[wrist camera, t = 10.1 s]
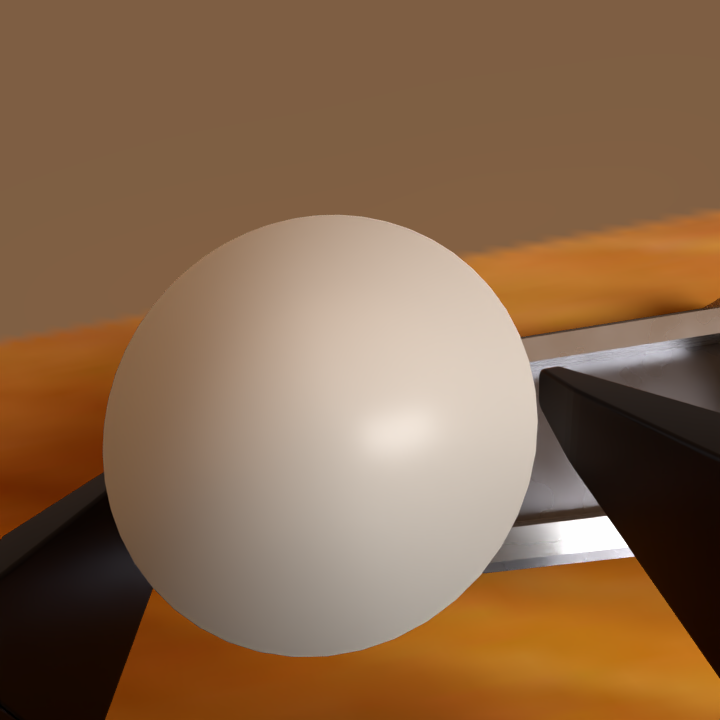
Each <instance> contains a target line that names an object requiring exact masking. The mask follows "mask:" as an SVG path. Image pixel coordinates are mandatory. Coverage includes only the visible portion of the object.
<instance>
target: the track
mask: <svg viewBox="0 0 720 720" xmlns="http://www.w3.org/2000/svg"><path fill="white" fill-rule="evenodd" d="M521 340H522V343H523V346H524V348H525V351H526V354H527V357H528V359H529V363H530V367H531V372H532V376H533V381H534V386H535V391H536V404H537V417H538V424H537V440H536V453H535V458H534V463H533V468H532V473H531V477H530V482H529V486H528V489H527V491H526V494H525V497H524V500H523V503H522V505H521V508H520V511H519V514H518V516H517V518H516V520H515V522H514V524H513V526H512V528H511V529H510V531H509V533H508V535H507V537H506V539H505V541H504V543H503V544H502V546H501V548H500V549H499V550H498V552H497V553H496V555H495V556H494V557H493V559H492V560H491V561H490V563H489V564H488V565H487V567H486V568H485V570H484V571H483V572H482V573H490V572H499V571H508V570H517V569H526V568H535V567H544V566H553V565H561V564H570V563H579V562H588V561H597V560H606V559H615V558H624V557H633V556H634V554H633V553H632V551H631V550H630V549H629V547H628V546H627V544H626V543H625V541H624V540H623V538H622V537H621V536H620V534H619V533H618V531H617V530H616V528H615V527H614V525H613V524H612V523H611V521H610V520H609V518H608V517H607V515H606V514H605V513H604V511H603V510H602V508H601V507H600V505H599V504H598V502H597V501H596V500H595V498H594V497H593V495H592V494H591V492H590V491H589V489H588V488H587V487H586V485H585V484H584V482H583V481H582V479H581V478H580V477H579V475H578V474H577V472H576V471H575V469H574V468H573V466H572V465H571V463H570V462H569V460H568V458H567V457H566V455H565V453H564V451H563V449H562V447H561V446H560V444H559V442H558V440H557V438H556V436H555V434H554V432H553V431H552V429H551V427H550V425H549V423H548V421H547V419H546V417H545V416H544V414H543V412H542V410H541V408H540V404H539V374H540V371H541V370H542V369H545V368H551V367H557V366H560V367H563V368H567V369H570V370H574V371H577V372H581V373H584V374H588V375H591V376H595V377H598V378H602V379H605V380H609V381H612V382H616V383H619V384H622V385H626V386H629V387H633V388H636V389H640V390H643V391H647V392H650V393H654V394H657V395H661V396H664V397H668V398H671V399H675V400H678V401H682V402H685V403H689V404H692V405H696V406H699V407H702V408H706V409H709V410H713V411H716V412H720V298H719V299H717V300H716V301H714V302H712V303H711V304H709V305H707V306H706V307H704V308H702V309H696V310H690V311H683V312H677V313H671V314H664V315H658V316H652V317H646V318H639V319H633V320H627V321H620V322H614V323H608V324H601V325H595V326H589V327H582V328H576V329H570V330H564V331H557V332H551V333H545V334H538V335H532V336H526V337H521Z"/></svg>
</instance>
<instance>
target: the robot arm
mask: <svg viewBox="0 0 720 720" xmlns="http://www.w3.org/2000/svg"><path fill="white" fill-rule="evenodd" d="M539 404H540V408H541V410H542V412H543V414H544V416H545V417H546V419H547V421H548V423H549V425H550V427H551V429H552V431H553V432H554V434H555V436H556V438H557V440H558V442H559V444H560V446H561V447H562V449H563V451H564V453H565V455H566V457H567V458H568V460H569V462H570V463H571V465H572V466H573V468H574V469H575V471H576V472H577V474H578V475H579V477H580V478H581V479H582V481H583V482H584V484H585V485H586V487H587V488H588V489H589V491H590V492H591V494H592V495H593V497H594V498H595V500H596V501H597V502H598V504H599V505H600V507H601V508H602V510H603V511H604V513H605V514H606V515H607V517H608V518H609V520H610V521H611V523H612V524H613V525H614V527H615V528H616V530H617V531H618V533H619V534H620V536H621V537H622V538H623V540H624V541H625V543H626V544H627V546H628V547H629V549H630V550H631V551H632V553H633V554H634V556H635V557H636V559H637V560H638V561H639V563H640V564H641V566H642V567H643V569H644V570H645V572H646V573H647V574H648V576H649V577H650V579H651V580H652V582H653V583H654V585H655V586H656V587H657V589H658V590H659V592H660V593H661V595H662V596H663V597H664V599H665V600H666V602H667V603H668V605H669V606H670V608H671V609H672V610H673V612H674V613H675V615H676V616H677V618H678V619H679V621H680V622H681V623H682V625H683V626H684V628H685V629H686V631H687V632H688V633H689V635H690V636H691V638H692V639H693V641H694V642H695V644H696V645H697V646H698V648H699V649H700V651H701V652H702V654H703V655H704V657H705V658H706V659H707V661H708V662H709V664H710V665H711V667H712V668H713V669H714V671H715V672H716V674H717V675H718V677H719V678H720V412H716V411H713V410H709V409H706V408H702V407H699V406H696V405H692V404H689V403H685V402H682V401H678V400H675V399H671V398H668V397H664V396H661V395H657V394H654V393H650V392H647V391H643V390H640V389H636V388H633V387H629V386H626V385H622V384H619V383H616V382H612V381H609V380H605V379H602V378H598V377H595V376H591V375H588V374H584V373H581V372H577V371H574V370H570V369H567V368H563V367H560V366H557V367H551V368H545V369H542V370H541V371H540V374H539ZM152 589H153V587H152V586H151V585H150V583H149V582H148V581H147V579H146V578H145V577H144V575H143V574H142V573H141V571H140V570H139V568H138V567H137V566H136V564H135V563H134V561H133V559H132V557H131V556H130V554H129V552H128V550H127V548H126V546H125V544H124V542H123V540H122V538H121V536H120V534H119V531H118V528H117V525H116V523H115V520H114V517H113V514H112V511H111V508H110V503H109V499H108V494H107V489H106V485H105V477H104V472H103V473H102V474H100V475H99V476H97V477H95V478H94V479H92V480H91V481H89V482H88V483H86V484H84V485H83V486H81V487H80V488H78V489H77V490H75V491H73V492H72V493H70V494H69V495H67V496H66V497H64V498H62V499H61V500H59V501H58V502H56V503H55V504H53V505H51V506H50V507H48V508H47V509H45V510H44V511H42V512H41V513H39V514H37V515H36V516H34V517H33V518H31V519H30V520H28V521H26V522H25V523H23V524H22V525H20V526H19V527H17V528H15V529H14V530H12V531H11V532H9V533H8V534H6V535H4V536H3V537H2V539H1V540H0V720H105V718H106V715H107V713H108V710H109V707H110V704H111V702H112V699H113V696H114V694H115V691H116V688H117V685H118V683H119V680H120V677H121V674H122V672H123V669H124V666H125V663H126V661H127V658H128V655H129V652H130V650H131V647H132V644H133V641H134V639H135V636H136V633H137V630H138V628H139V625H140V622H141V620H142V617H143V614H144V611H145V609H146V606H147V603H148V600H149V598H150V595H151V592H152Z"/></svg>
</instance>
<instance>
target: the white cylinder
mask: <svg viewBox="0 0 720 720" xmlns="http://www.w3.org/2000/svg"><path fill="white" fill-rule="evenodd" d="M537 424H538V417H537V404H536V391H535V386H534V381H533V376H532V372H531V367H530V363H529V359H528V357H527V354H526V351H525V348H524V346H523V343H522V340H521V337H520V335H519V333H518V331H517V329H516V327H515V325H514V323H513V321H512V319H511V318H510V316H509V314H508V312H507V310H506V309H505V307H504V306H503V304H502V303H501V302H500V300H499V299H498V297H497V296H496V295H495V293H494V292H493V290H492V289H491V288H490V287H489V286H488V284H487V283H486V282H485V281H484V280H483V279H482V278H481V277H480V276H479V275H478V274H477V273H476V272H475V271H474V270H473V269H472V268H471V267H470V266H469V265H468V264H466V263H465V262H464V261H463V260H461V259H460V258H459V257H458V256H457V255H455V254H454V253H453V252H451V251H450V250H448V249H446V248H445V247H443V246H442V245H440V244H438V243H437V242H435V241H434V240H432V239H430V238H428V237H426V236H424V235H421V234H419V233H417V232H415V231H413V230H411V229H408V228H405V227H402V226H399V225H395V224H393V223H390V222H387V221H382V220H377V219H372V218H367V217H359V216H348V215H316V216H310V217H302V218H294V219H290V220H286V221H282V222H278V223H274V224H270V225H267V226H264V227H261V228H259V229H256V230H253V231H250V232H248V233H246V234H243V235H242V236H239V237H237V238H236V239H233V240H231V241H229V242H227V243H225V244H224V245H222V246H221V247H219V248H217V249H216V250H214V251H212V252H211V253H209V254H207V255H206V256H205V257H203V258H202V259H201V260H199V261H198V262H197V263H195V264H194V265H193V266H192V267H190V268H189V269H188V270H186V271H185V272H184V273H183V274H182V275H181V276H180V277H179V278H178V279H177V280H176V281H175V282H174V283H173V284H172V285H171V286H169V287H168V289H167V290H166V291H165V292H164V293H163V294H162V296H161V297H160V298H159V299H158V301H156V303H155V304H154V305H153V306H152V307H151V309H150V310H149V312H148V313H147V315H146V316H145V318H144V319H143V320H142V322H141V323H140V325H139V326H138V328H137V330H136V332H135V333H134V335H133V337H132V339H131V341H130V343H129V344H128V346H127V348H126V350H125V352H124V355H123V357H122V360H121V362H120V364H119V367H118V369H117V372H116V374H115V378H114V381H113V385H112V388H111V392H110V395H109V399H108V404H107V410H106V416H105V422H104V434H103V465H104V477H105V485H106V489H107V494H108V499H109V503H110V508H111V511H112V514H113V517H114V520H115V523H116V525H117V528H118V531H119V534H120V536H121V538H122V540H123V542H124V544H125V546H126V548H127V550H128V552H129V554H130V556H131V557H132V559H133V561H134V563H135V564H136V566H137V567H138V568H139V570H140V571H141V573H142V574H143V575H144V577H145V578H146V579H147V581H148V582H149V583H150V585H151V586H152V587H153V588H154V589H155V590H156V591H157V592H158V593H159V594H160V595H161V596H162V597H163V598H164V599H165V600H166V601H167V602H168V603H169V604H170V605H171V606H172V607H173V608H174V609H175V610H176V611H178V612H179V613H180V614H182V615H183V616H184V617H186V618H187V619H189V620H190V621H191V622H193V623H194V624H195V625H197V626H198V627H200V628H201V629H203V630H205V631H207V632H209V633H211V634H213V635H215V636H217V637H219V638H221V639H223V640H225V641H227V642H230V643H233V644H236V645H239V646H242V647H246V648H249V649H252V650H255V651H258V652H263V653H270V654H277V655H284V656H291V657H311V656H331V655H337V654H343V653H348V652H354V651H359V650H363V649H366V648H369V647H372V646H375V645H378V644H381V643H384V642H386V641H389V640H392V639H395V638H397V637H399V636H401V635H403V634H404V633H406V632H408V631H410V630H412V629H414V628H416V627H418V626H420V625H421V624H423V623H425V622H427V621H428V620H430V619H431V618H432V617H434V616H435V615H436V614H438V613H439V612H440V611H442V610H443V609H444V608H446V607H447V606H448V605H450V604H451V603H452V602H454V601H455V600H456V599H457V598H458V597H459V596H460V595H461V594H462V593H463V592H464V591H465V590H466V589H467V588H468V587H469V586H470V585H471V584H472V583H473V582H474V581H475V580H476V579H477V578H478V577H479V576H480V575H481V574H482V572H483V571H484V570H485V568H486V567H487V565H488V564H489V563H490V561H491V560H492V559H493V557H494V556H495V555H496V553H497V552H498V550H499V549H500V548H501V546H502V544H503V543H504V541H505V539H506V537H507V535H508V533H509V531H510V529H511V528H512V526H513V524H514V522H515V520H516V518H517V516H518V514H519V511H520V508H521V505H522V503H523V500H524V497H525V494H526V491H527V489H528V486H529V482H530V477H531V473H532V468H533V463H534V458H535V453H536V440H537Z"/></svg>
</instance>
